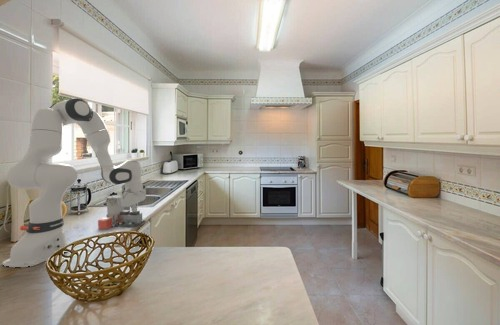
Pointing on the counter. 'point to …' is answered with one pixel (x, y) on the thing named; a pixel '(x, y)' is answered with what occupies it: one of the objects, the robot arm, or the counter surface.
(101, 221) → the red cube
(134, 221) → the breaker panel
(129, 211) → the plunger
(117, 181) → the robot arm
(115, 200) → the circuit breaker
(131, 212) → the plunger
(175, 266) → the counter surface
